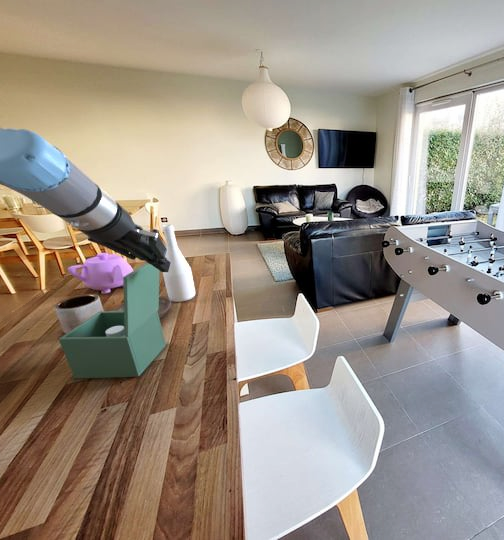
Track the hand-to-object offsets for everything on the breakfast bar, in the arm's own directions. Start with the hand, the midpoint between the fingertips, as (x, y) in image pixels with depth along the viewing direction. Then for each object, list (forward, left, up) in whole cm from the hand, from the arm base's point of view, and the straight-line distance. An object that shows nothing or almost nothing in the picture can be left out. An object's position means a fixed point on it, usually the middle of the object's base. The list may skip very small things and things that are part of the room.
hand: (166, 267), depth 72 cm
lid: (-8, 0, -8) cm, 11 cm away
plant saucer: (-26, +25, -29) cm, 47 cm away
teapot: (-52, +47, -29) cm, 76 cm away
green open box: (-17, 0, -29) cm, 34 cm away
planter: (-40, +18, -29) cm, 53 cm away
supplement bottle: (-17, 0, -28) cm, 33 cm away
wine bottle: (-19, +39, -29) cm, 52 cm away
